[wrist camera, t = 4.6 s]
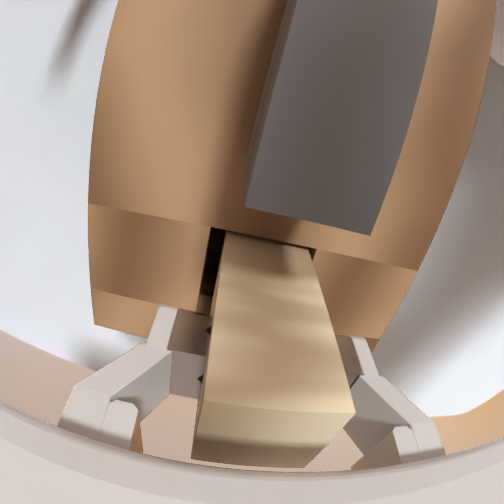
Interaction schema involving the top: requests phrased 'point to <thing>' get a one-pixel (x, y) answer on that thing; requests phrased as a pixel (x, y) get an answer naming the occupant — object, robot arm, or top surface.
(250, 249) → the pin
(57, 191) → the top surface
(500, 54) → the base with upright slab
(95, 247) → the lid
